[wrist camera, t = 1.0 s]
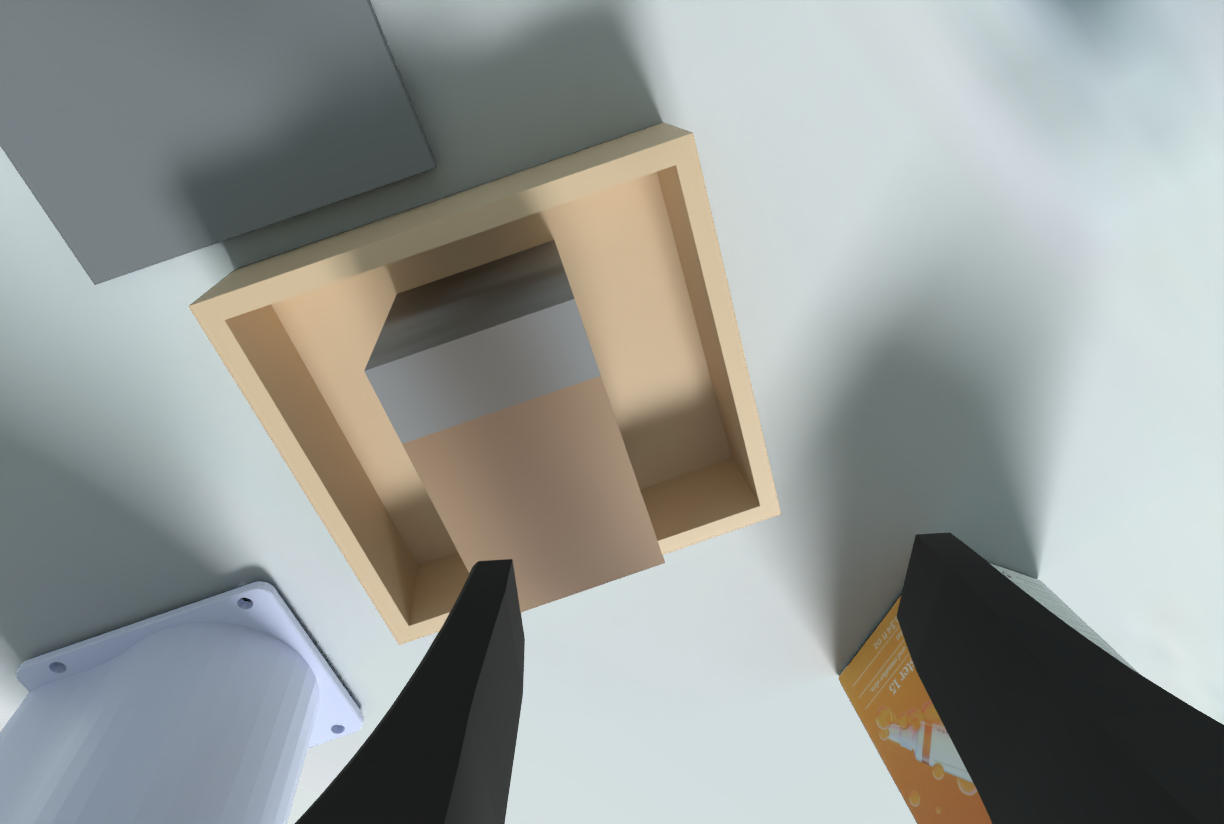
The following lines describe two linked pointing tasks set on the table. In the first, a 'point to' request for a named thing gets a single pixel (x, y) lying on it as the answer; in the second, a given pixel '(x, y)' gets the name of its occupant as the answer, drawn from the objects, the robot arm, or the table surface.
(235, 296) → the shallow wooden tray
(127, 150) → the panel
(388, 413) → the box
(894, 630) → the small box
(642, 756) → the table surface
